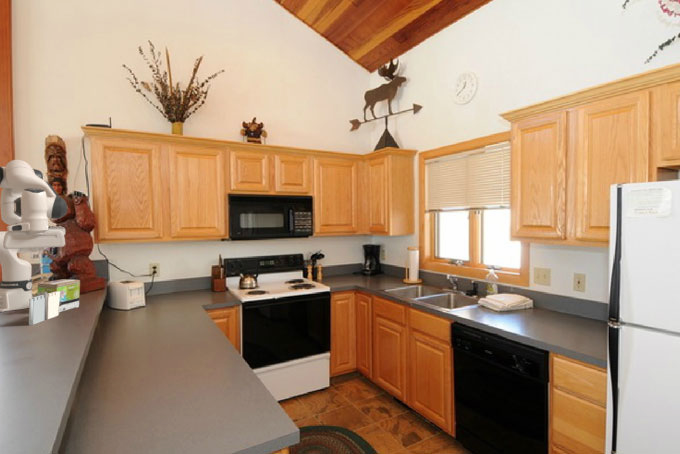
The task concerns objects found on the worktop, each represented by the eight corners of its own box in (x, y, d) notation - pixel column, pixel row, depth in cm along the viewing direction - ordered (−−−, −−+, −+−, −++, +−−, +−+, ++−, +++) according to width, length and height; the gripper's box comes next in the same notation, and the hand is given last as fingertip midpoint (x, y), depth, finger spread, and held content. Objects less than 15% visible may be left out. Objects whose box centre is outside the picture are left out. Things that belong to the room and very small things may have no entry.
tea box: (56, 314, 170) (56, 283, 170) (35, 313, 170) (36, 283, 170) (79, 307, 185) (80, 279, 185) (61, 306, 185) (61, 278, 185)
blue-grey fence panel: (41, 320, 157) (42, 294, 157) (44, 320, 157) (44, 294, 157) (28, 325, 149) (28, 298, 149) (31, 325, 149) (31, 298, 149)
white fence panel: (42, 320, 157) (42, 292, 157) (56, 315, 167) (57, 288, 167) (45, 320, 158) (45, 292, 158) (59, 315, 167) (60, 288, 167)
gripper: (64, 225, 161) (64, 255, 162) (2, 226, 147) (3, 259, 147) (66, 226, 157) (67, 257, 158) (2, 227, 142) (3, 261, 143)
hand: (35, 258), depth 152 cm, fingers closed
